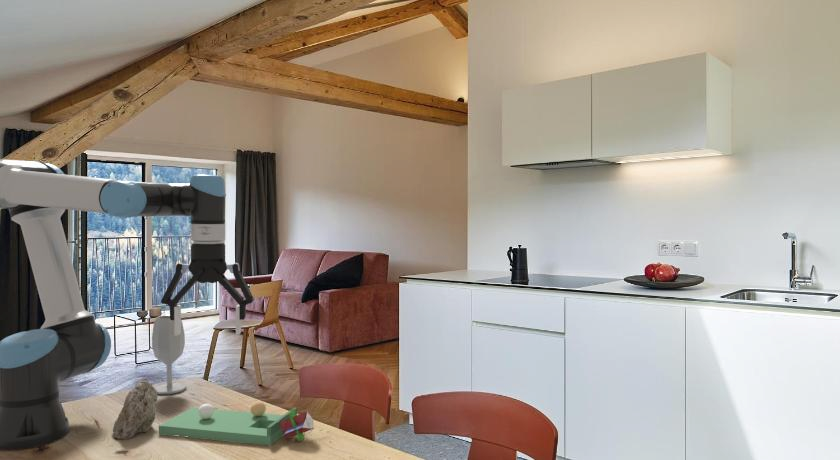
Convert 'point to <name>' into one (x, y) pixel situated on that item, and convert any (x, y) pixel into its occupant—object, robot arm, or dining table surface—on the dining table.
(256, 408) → the orange ball
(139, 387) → the rock
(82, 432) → the dining table surface
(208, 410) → the white ball
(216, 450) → the dining table surface
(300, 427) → the geometric puzzle
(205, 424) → the putting mat
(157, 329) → the wineglass
